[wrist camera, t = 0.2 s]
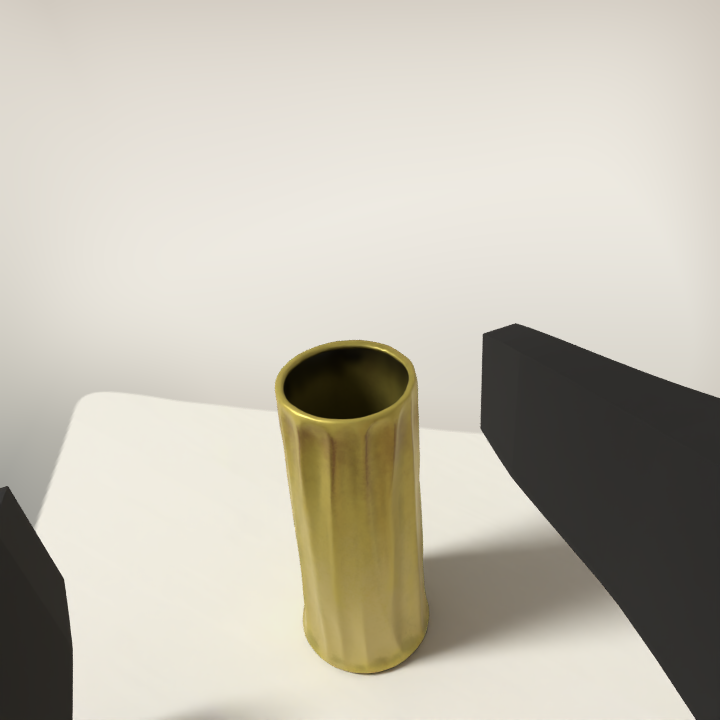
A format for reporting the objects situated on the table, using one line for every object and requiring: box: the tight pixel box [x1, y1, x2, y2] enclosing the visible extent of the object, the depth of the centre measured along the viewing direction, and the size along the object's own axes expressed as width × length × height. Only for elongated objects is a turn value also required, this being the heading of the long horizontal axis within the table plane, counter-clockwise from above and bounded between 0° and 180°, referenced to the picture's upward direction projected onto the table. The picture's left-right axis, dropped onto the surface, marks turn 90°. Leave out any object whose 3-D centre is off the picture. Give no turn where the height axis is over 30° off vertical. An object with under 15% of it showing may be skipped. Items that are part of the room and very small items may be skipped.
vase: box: [275, 340, 429, 673], centre depth 27 cm, size 6×6×14 cm
